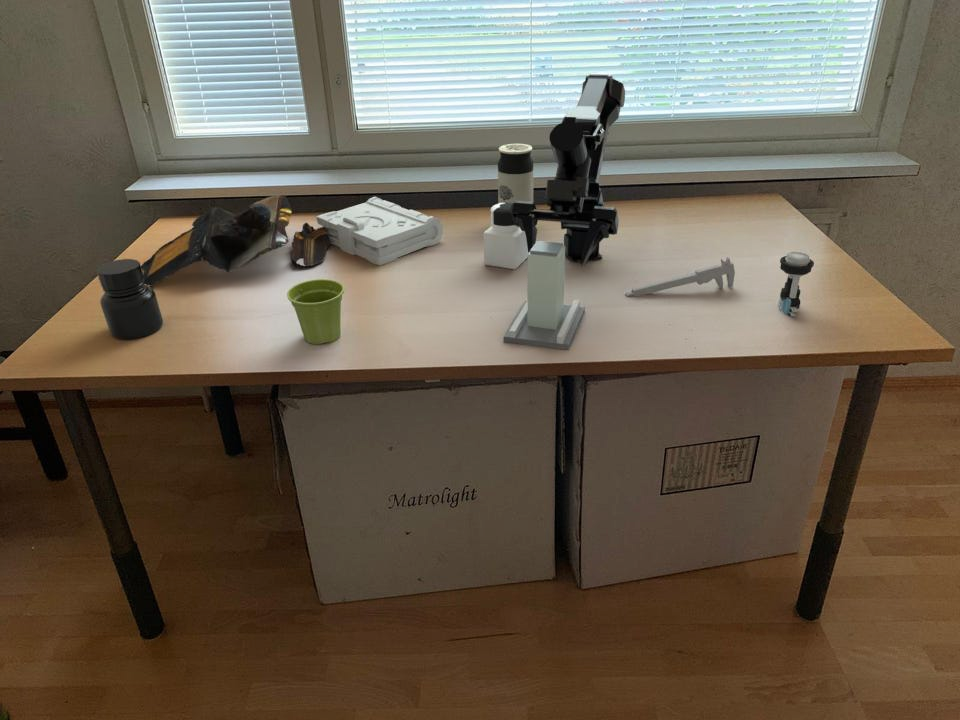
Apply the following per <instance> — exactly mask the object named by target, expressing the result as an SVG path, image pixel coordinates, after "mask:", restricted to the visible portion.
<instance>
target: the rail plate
mask: <svg viewBox="0 0 960 720" xmlns="http://www.w3.org/2000/svg"><path fill="white" fill-rule="evenodd" d="M580 304H581V302H580V300H577V299H573V302H572V304H571V305H567V304H564V306H563V318H562V320H561V322H560V323H559V325H558V327H557V329H556V330H554V329H547V328H539V327H532V326H527V312H528V299H527V300H524V302H523V303H522V305H521V306H520V308H519V310H518V312H517V313H516V315H515V317H514V319H513V320H512V322H511V323H510V325H509V326H508V328H507V330H506V331H505V333H504V335H503V342H504V343H511V344H519V345H526V346H535V347H541V348H549V349H558V350H563V351H570V348H571V346H572V343H573V340H574V338H575V336H576V334H577V333H578V332H577V331H578V329H579V328H580V327H579V326H580V324H581V322H582V320H583V318H584V316H585V313H586V312H585V311H586V307H584V306H580Z"/></svg>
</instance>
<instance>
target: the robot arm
mask: <svg viewBox="0 0 960 720" xmlns="http://www.w3.org/2000/svg"><path fill="white" fill-rule="evenodd" d="M581 88H582V89H581V94H580V98H579V101H578V102H577V105H576V107H575V108H573V109H571V110H569V111H567V112H566V113H565V115H564V116H563V118H562V121H560V122H559V123H558V124H556V125H555V126H554V127H553V128H552V130H551V131H550V133H549V137H548V139H549V143H550V146H551V149H552V153H553V157H554V161H555V163H556V164H557V168H556V174H555V177H554V178H553V179H547V180H546V187H545V188H546V190H545V196H544V197H545V200H546V205H547V207H549V209H541V208H537V206H536V204H535V201H534V200H533V201H519V200H516V201H515V202H514V203H513V204H512V205H511V209H510V215H511V217H512V220H513V222H514V224H515V226H518V227H520V229H521V230H522V231H525V234H526V239H527V247H528V253H529V252H530V250H531V248H532V247H533V246H534V244H535V243H536V242H537V235H538V228H537V227H536V226H537V225H538V221H543V222H544V221H545V222H556V223H560V229H561V230H566V233H564V235H563V246H565V256H566V257H567V258H568V259H569V260H570V261H571V262H573V263H576V262H577V263H578V262H580V265H581V266H585V264H586V262H587V261H591V260H593V261H594V260H600V259H602V258H603V255H602V254H601V253H600V243H601V241H602V240H603V239H609V237H610V235H613V236H615V235H617V234H618V229H619V215H618V214H619V212H618V210H617V208H616V207H615V206H614V207H613V206H605V202H604V199H603V193H602V190H601V186H600V184H599V182H600V178H601V173H602V167H603V163H604V162H603V161H604V157H605V155H604V154H605V151H606V146H607V145H606V144H607V140H608V134H609V128H610V127H611V126H612V125H613V124H614V123H615V122H616V121H618V119H619V117H620V112H621V108H624V106H625V99H626V89H625V86H624V83H623V82H621V81H619V80H617V79H615V78H614V77H613V75H612V74H609V73H595V72H592V73H589V74H586V76H585V80H584V81H583V82H582V87H581Z"/></svg>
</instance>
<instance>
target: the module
mask: <svg viewBox="0 0 960 720" xmlns="http://www.w3.org/2000/svg"><path fill="white" fill-rule="evenodd" d="M565 264H566V254H565V246H564V242H553V241H546V240H545V241H542V240H536V243H535V244H534V246H533V247H532V248H531V250H530V252H529V253H528V258H527V300H528V312H527V326H532V327H539V328H547V329H554V330H556V329H557V327H558V325H559V323H560V322H561V320H562V318H563V306H564V305H565V304H564V301H565V300H564V299H565V273H566V272H565V270H566V269H565V268H566V265H565Z"/></svg>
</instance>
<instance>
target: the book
mask: <svg viewBox="0 0 960 720" xmlns="http://www.w3.org/2000/svg"><path fill="white" fill-rule="evenodd" d="M316 222H317V224H318V225H320V226H321V227H325V229H326V232H327V234H328V236H329V239H330V241H331V242H330V243H329V245H334V246H335V247H339V248H340V250H341V251H342V250H343V251H342V252H345V253H347V254H349V255H351V254H352V255H351V256H355V255H356V256H359V257H361V258H364V259H365V260H366V261H368V262H371V263H372V264H374V265H376V266H379V265H380V266H383V265H385V263H386V264H388V263H390V262H393V261H395V260H397V259H398V258H400V257H403V256H406V255H407V254H408V255H409V254H411V253H413V252H416V251H418V250H421V249H424V248H425V247H427V248H428V247H432V246H435V245H438V244H439V242H441V240H442V236H443V233H444V232H443V231H444V228H443V224H442V222H441V220H440V218H437V217H435V216H433V215H427V214H425V213H422V212H420V211H417V210H414V209H407V208H405V207H402V206H401V205H399V204H396V203H394V202H391V201H388V200H385V199H384V200H383V199H382V198H380V197H377V196H373V197H370V198H368V199H367V200H366V202H363V203H360V204H357V205H356V204H355V205H353V206H349V207H346V208H344V209H340V210H337V211H335V210H333V211H329V212H326V213H322V214H319V215H317V216H316ZM382 264H383V265H382Z"/></svg>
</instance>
